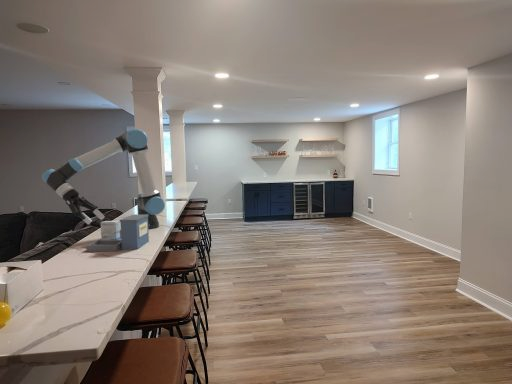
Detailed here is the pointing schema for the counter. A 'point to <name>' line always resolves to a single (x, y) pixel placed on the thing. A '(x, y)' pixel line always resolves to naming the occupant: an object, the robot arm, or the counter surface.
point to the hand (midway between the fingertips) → (97, 220)
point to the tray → (105, 245)
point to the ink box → (110, 230)
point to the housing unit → (134, 231)
